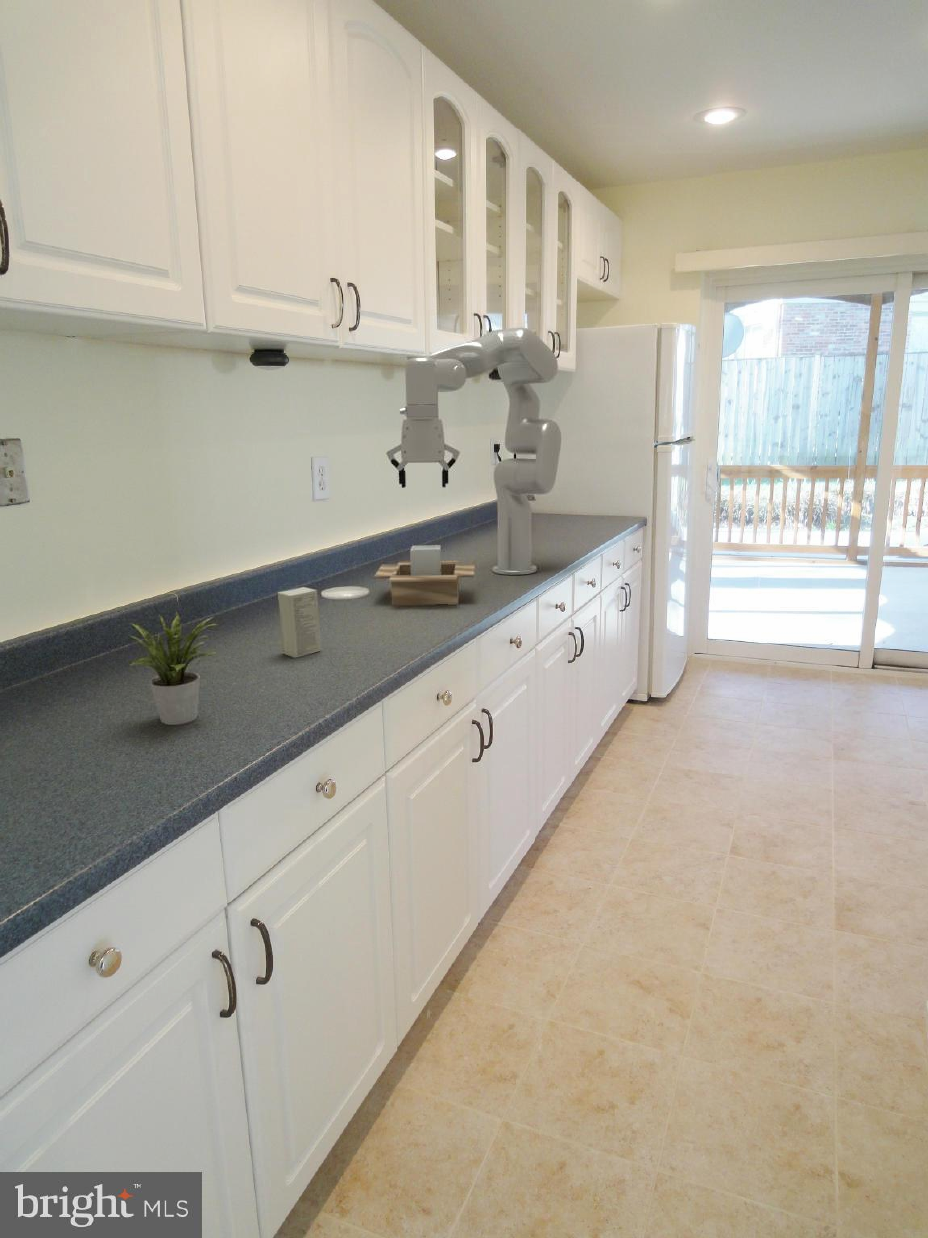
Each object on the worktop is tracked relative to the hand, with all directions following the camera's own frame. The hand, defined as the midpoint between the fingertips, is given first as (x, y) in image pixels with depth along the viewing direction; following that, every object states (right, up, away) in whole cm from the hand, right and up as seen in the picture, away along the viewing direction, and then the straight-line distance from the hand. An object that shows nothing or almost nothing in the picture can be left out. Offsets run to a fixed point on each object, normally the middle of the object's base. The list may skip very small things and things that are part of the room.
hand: (423, 487), depth 193 cm
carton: (0, -26, +7) cm, 27 cm away
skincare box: (-21, -38, -38) cm, 58 cm away
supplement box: (0, -26, +7) cm, 27 cm away
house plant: (-32, -47, -72) cm, 92 cm away
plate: (-20, -25, +12) cm, 35 cm away
